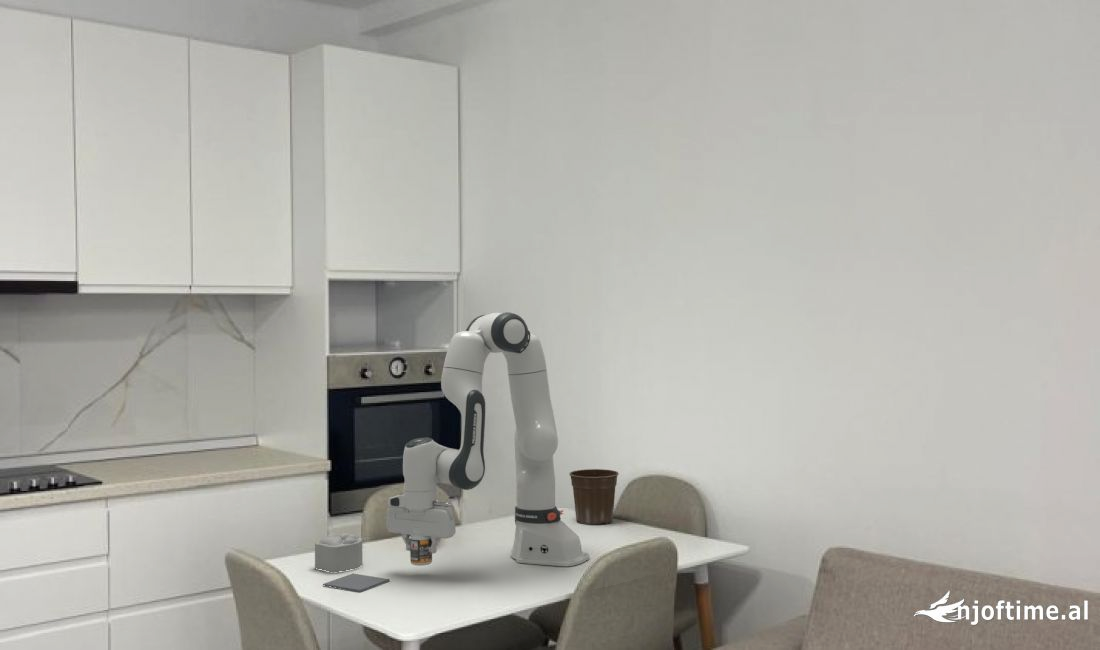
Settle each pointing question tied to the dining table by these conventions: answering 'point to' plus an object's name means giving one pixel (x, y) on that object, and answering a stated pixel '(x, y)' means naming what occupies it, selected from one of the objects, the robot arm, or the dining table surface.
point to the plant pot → (594, 495)
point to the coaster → (356, 582)
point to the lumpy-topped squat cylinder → (338, 552)
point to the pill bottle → (420, 548)
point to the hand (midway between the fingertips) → (421, 551)
